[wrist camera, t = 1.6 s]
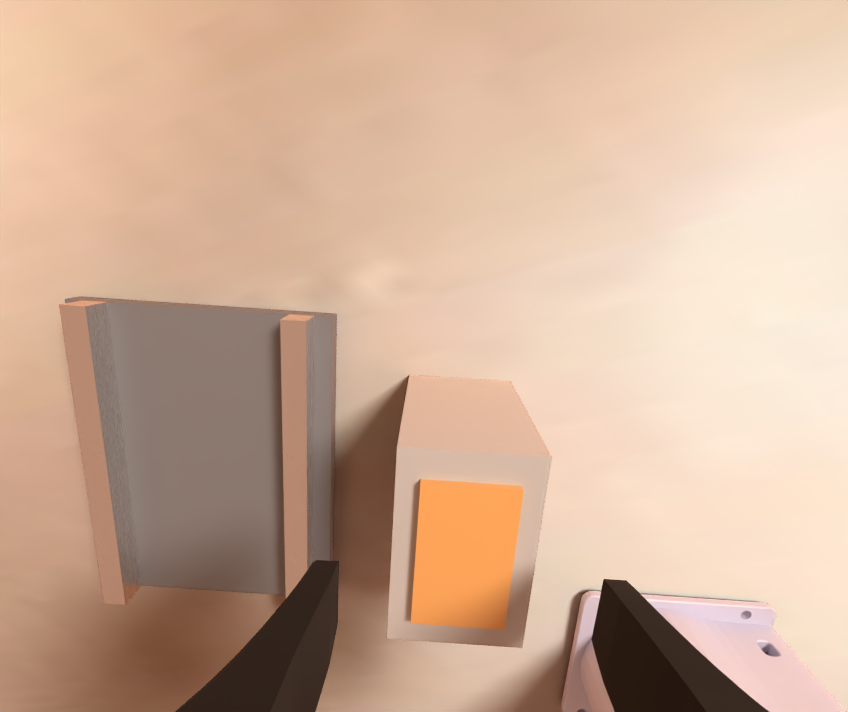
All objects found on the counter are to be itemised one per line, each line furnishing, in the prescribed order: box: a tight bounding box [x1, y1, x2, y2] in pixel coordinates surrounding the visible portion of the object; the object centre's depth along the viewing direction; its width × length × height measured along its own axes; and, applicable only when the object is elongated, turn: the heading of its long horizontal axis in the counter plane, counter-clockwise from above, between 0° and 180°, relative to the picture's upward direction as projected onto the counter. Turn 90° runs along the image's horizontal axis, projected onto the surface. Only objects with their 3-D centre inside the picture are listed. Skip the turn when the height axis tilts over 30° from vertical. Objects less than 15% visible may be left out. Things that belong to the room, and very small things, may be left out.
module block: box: [387, 375, 552, 648], centre depth 17 cm, size 4×7×7 cm, turn 176°
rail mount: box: [59, 297, 337, 605], centre depth 20 cm, size 11×14×2 cm
